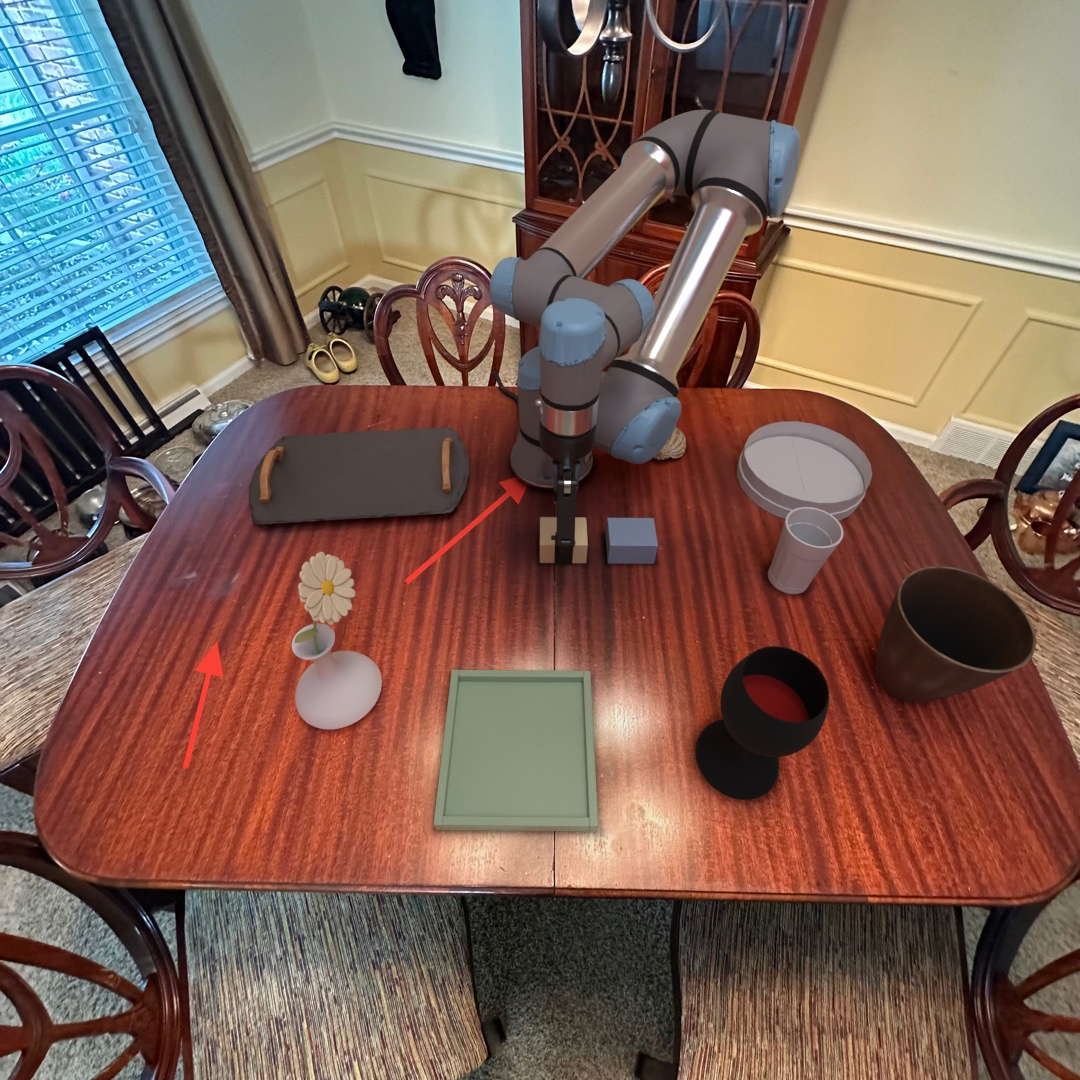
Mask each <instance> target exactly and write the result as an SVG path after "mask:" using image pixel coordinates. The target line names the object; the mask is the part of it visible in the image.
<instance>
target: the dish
mask: <svg viewBox="0 0 1080 1080" xmlns="http://www.w3.org/2000/svg"><path fill="white" fill-rule="evenodd" d="M872 477H873V470H872V464H871V462H870V460H869V459H868V457H867V455H866V453H865V452H864V451H863V450H862V449H861V448H860V447H859V446H858V445H857V444H856V443H855V442H853V441H852V440H850V439H849V438H848V437H847V436H845V435H843V434H841V433H840V432H837V431H835V430H833V429H831V428H830V427H829V428H828V427H825V426H822V425H818V424H815V423H810V422H804V421H797V420H796V421H795V420H794V421H791V420H790V421H788V420H787V421H777V422H772V423H768V424H766V425H763V426H761V427H759V428H757V429H755V431H753V432H752V433H751V434H750V435H749V436H748V438H747V440H746V442H745V444H744V447H743V449H742V451H741V453H740V455H739V459H738V461H737V464H736V478H737V481H738V484H739V486H740V488H741V489H742V491H743V492H744V493H745V495H746V496H747V498H748V499H749V500H751V501H752V502H753V503H754V504H755V505H756V506H758V507H759V508H761V509H762V510H764V511H766V512H767V513H769V514H771V515H772V516H776V517H777V518H781V519H783V520H785V519H786V517H787V515H788V513H789V512H791V511H792V510H794V509H796V508H800V507H813V508H817V509H821V510H823V511H825V512H827V513H829V514H831V515H832V516H833V517H835V518H836V519H837V520H838V521H839V522H840V521H843V520H844V519H846V518H848V517H849V516H852V515H853V513H854V512H856V510H857V509H858V507H860V505H861V503H862V501H863V499H864V498H865V496H866V492H867V490H868V488H869V486H870V484H871V482H872Z"/></svg>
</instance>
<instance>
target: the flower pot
mask: <svg viewBox="0 0 1080 1080" xmlns="http://www.w3.org/2000/svg"><path fill="white" fill-rule="evenodd" d="M1036 647H1037V634H1036V630H1035V627H1034V624H1033V623H1032V620H1031V618H1030V617H1029V615H1028V613H1027V612H1026V611H1025V609H1024V608H1023V607H1022V606H1021V604H1020V603H1019V602H1018V601H1017V600H1016V599H1015V598H1014V597H1013V596H1011V594H1009V593H1008V592H1007V591H1006V590H1004V589H1003V588H1002V587H1001V586H999V585H997V584H996V583H994V582H992V581H991V580H990V579H987V578H985V577H983V576H981V575H979V574H976V573H974V572H971V571H968V570H965V569H961V568H958V567H952V566H944V565H942V566H941V565H935V566H925V567H921V568H919V569H916V570H914V571H912V572H910V573H909V574H907V576H905V577H904V579H902V582H901V583H900V585H899V587H898V589H897V591H896V593H895V595H894V597H893V599H892V601H891V603H890V606H889V608H888V611H887V613H886V616H885V619H884V621H883V625H882V628H881V632H880V635H879V639H878V644H877V650H876V658H875V676H876V678H877V681H878V683H879V684H880V686H881V687H882V689H884V690H885V691H886V692H887V694H889V695H891V696H892V697H894V698H895V699H897V700H899V701H902V702H904V703H905V702H906V703H909V704H920V703H927V702H932V701H938V700H943V699H946V698H947V699H948V698H951V697H954V696H957V695H960V694H964V693H967V692H970V691H972V690H975V689H979V688H980V687H983V686H985V685H988V684H990V683H992V682H994V681H997V680H999V679H1001V678H1003V677H1005V676H1007V675H1008V674H1011V673H1013V672H1014V671H1016V670H1019V669H1021V668H1022V667H1023V666H1025V665H1027V663H1028V662H1030V660H1032V658H1033V656H1034V655H1035V652H1036Z"/></svg>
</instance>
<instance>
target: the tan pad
mask: <svg viewBox="0 0 1080 1080" xmlns="http://www.w3.org/2000/svg"><path fill="white" fill-rule="evenodd" d="M555 532H557V516H540V517H539V564H554V554H555V540H551V535H555ZM588 541H589V540H588V525H587V517H582V516H581V517H579V516H578V517H577V516H575V546H574V547H573V561H572V564H587V558H588V549H589V543H588Z"/></svg>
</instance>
